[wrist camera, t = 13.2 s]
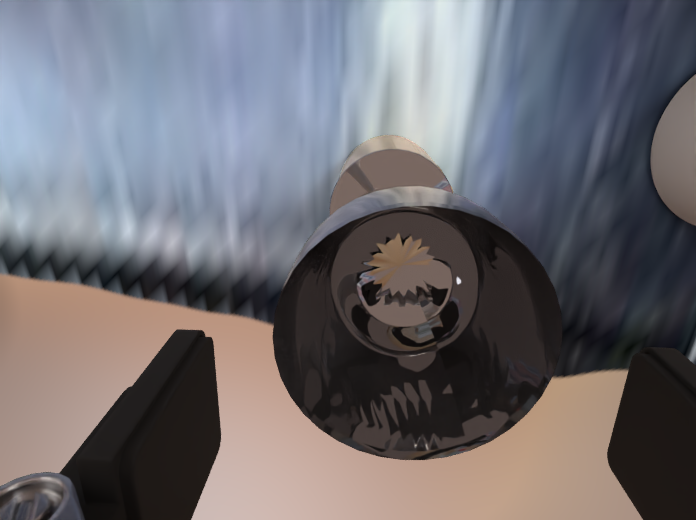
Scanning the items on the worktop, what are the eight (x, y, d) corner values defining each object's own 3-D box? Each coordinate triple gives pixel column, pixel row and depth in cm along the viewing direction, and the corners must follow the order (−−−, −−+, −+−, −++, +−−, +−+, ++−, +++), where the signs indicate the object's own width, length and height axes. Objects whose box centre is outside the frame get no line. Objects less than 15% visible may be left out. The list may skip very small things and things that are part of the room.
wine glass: (483, 243, 28) (601, 404, 14) (360, 297, 29) (350, 493, 15) (428, 114, 25) (500, 148, 11) (297, 181, 27) (217, 283, 13)
